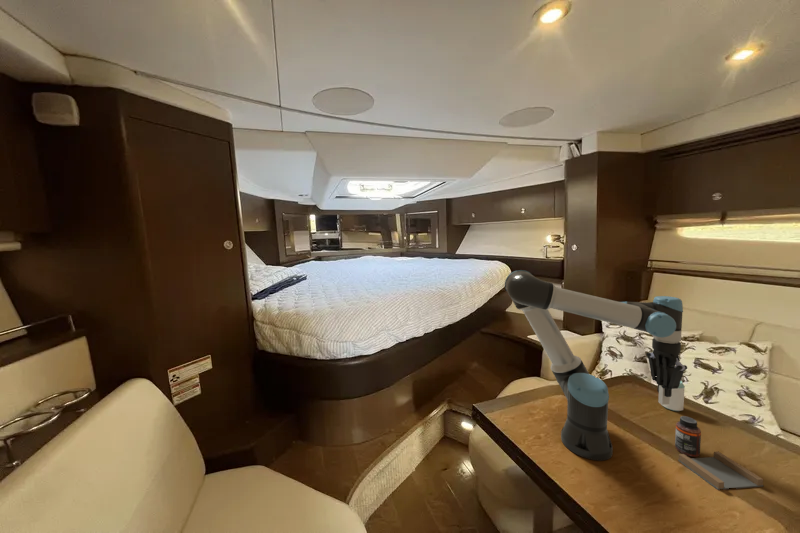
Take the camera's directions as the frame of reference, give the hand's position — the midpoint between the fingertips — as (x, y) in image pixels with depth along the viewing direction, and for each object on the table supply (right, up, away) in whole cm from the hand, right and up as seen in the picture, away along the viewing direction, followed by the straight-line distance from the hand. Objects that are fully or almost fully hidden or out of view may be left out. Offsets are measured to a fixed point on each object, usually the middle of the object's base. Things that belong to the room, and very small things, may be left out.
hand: (663, 403), depth 104 cm
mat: (+1, -13, -17) cm, 21 cm away
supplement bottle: (+1, -13, -8) cm, 15 cm away
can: (+19, -10, +17) cm, 28 cm away
